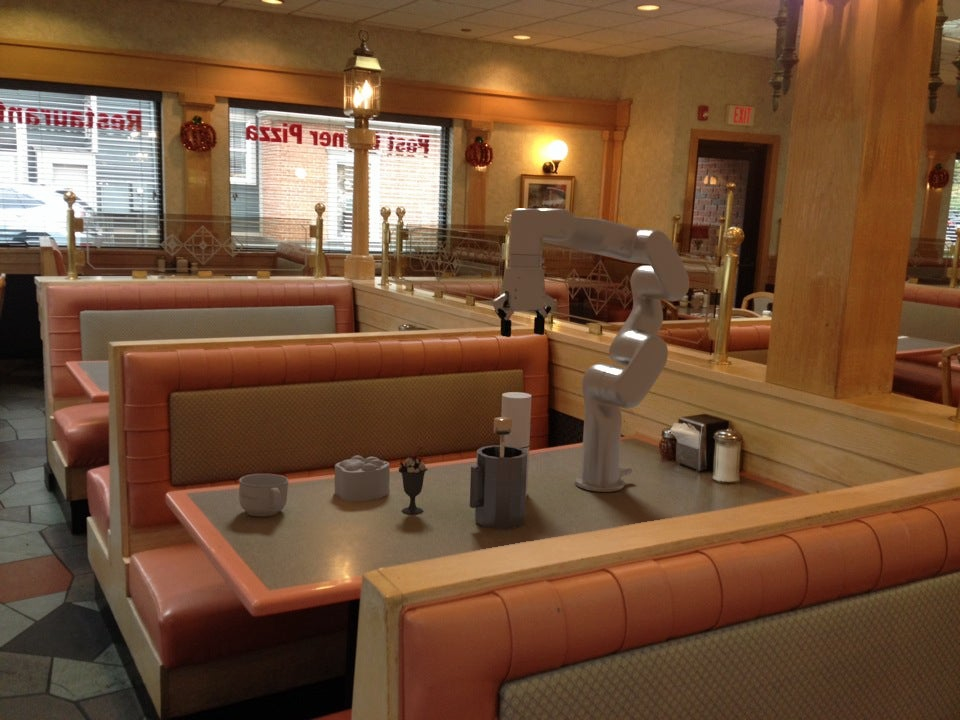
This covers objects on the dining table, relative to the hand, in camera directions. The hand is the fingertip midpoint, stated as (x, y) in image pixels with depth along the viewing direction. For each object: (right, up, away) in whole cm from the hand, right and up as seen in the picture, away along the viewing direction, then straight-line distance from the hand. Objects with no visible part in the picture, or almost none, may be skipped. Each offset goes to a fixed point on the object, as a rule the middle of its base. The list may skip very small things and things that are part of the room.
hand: (522, 335), depth 205 cm
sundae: (-26, -41, -4) cm, 48 cm away
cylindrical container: (-2, -39, +11) cm, 41 cm away
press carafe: (-7, -42, -9) cm, 44 cm away
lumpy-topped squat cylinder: (-38, -39, +8) cm, 55 cm away
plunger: (-6, -40, -9) cm, 41 cm away
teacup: (-58, -41, -9) cm, 72 cm away
